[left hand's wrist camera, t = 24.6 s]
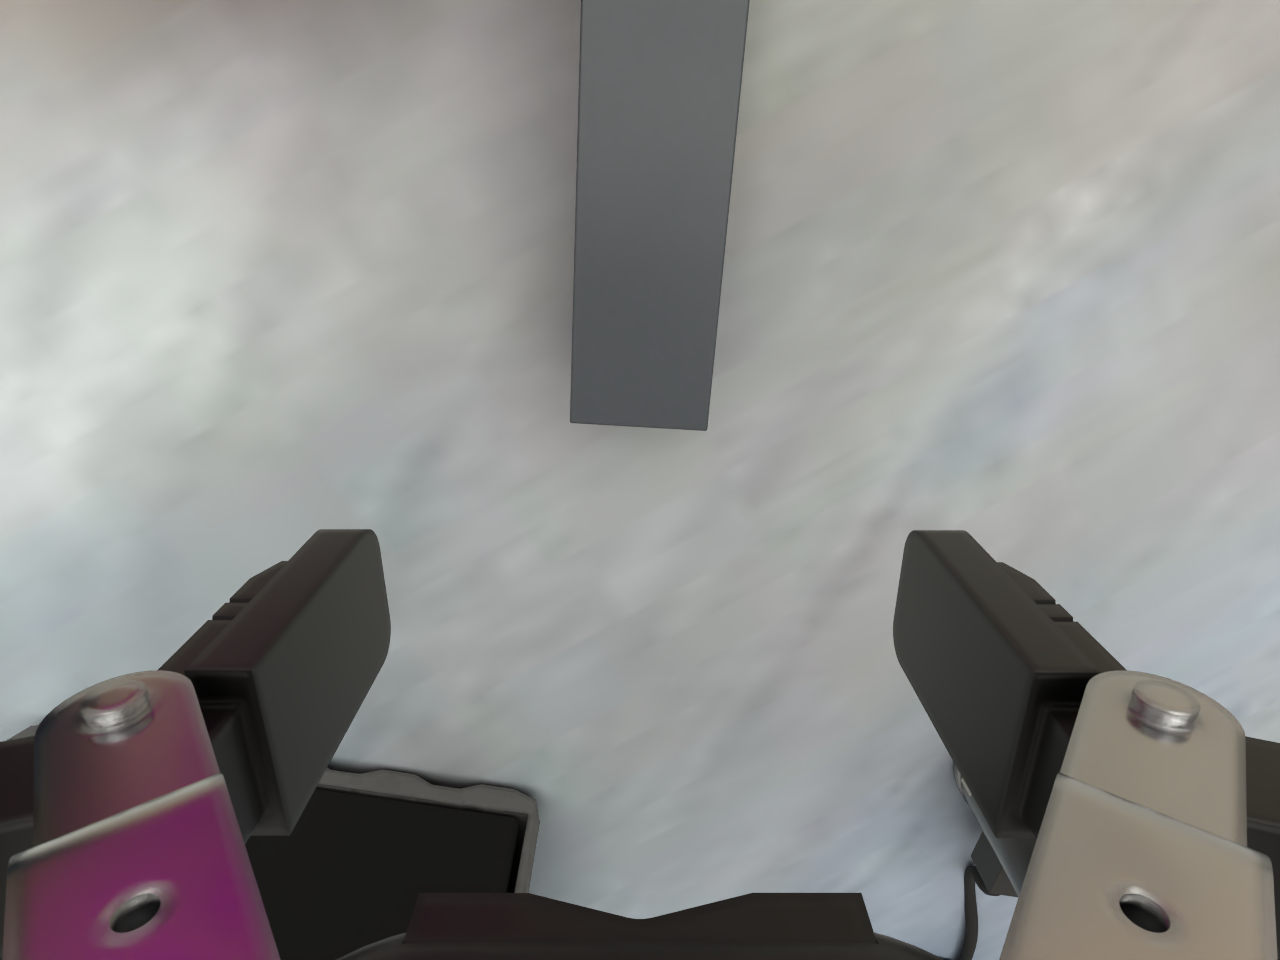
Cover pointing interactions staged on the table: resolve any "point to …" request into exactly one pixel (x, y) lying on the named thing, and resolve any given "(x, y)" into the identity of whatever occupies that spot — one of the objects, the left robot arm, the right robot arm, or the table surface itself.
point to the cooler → (384, 856)
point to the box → (652, 206)
